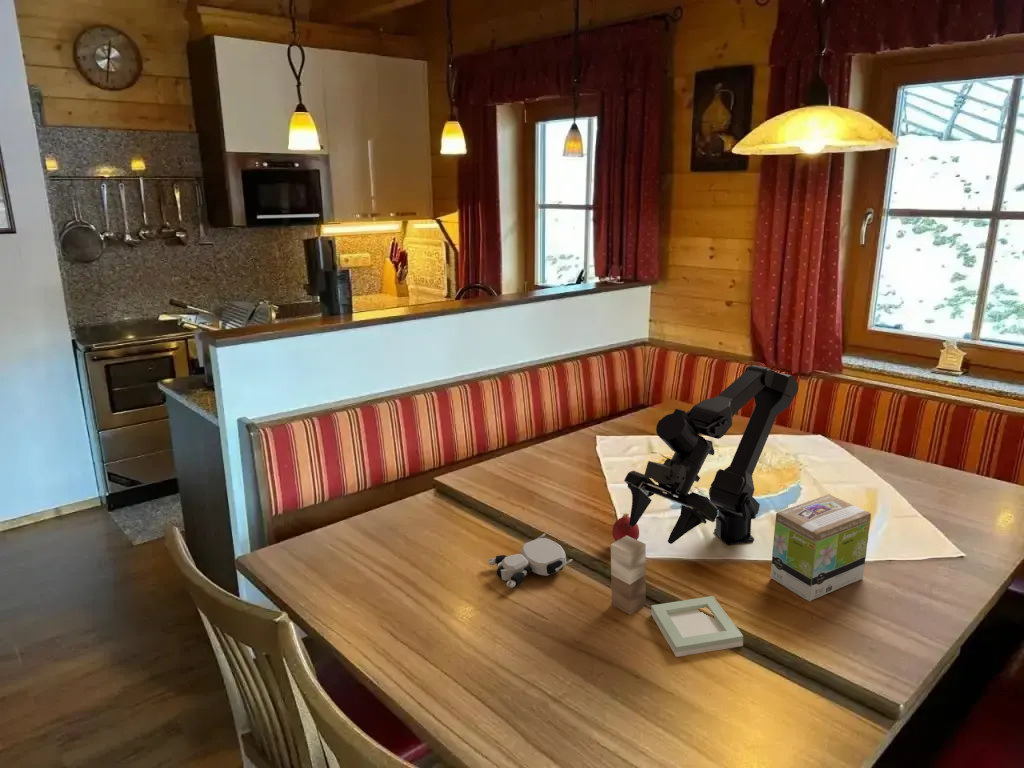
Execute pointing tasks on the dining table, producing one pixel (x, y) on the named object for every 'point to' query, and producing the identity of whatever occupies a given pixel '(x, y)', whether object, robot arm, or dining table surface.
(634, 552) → the block stack
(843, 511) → the tea box
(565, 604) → the dining table surface
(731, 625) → the picture frame
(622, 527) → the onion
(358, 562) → the dining table surface
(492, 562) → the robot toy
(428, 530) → the dining table surface
